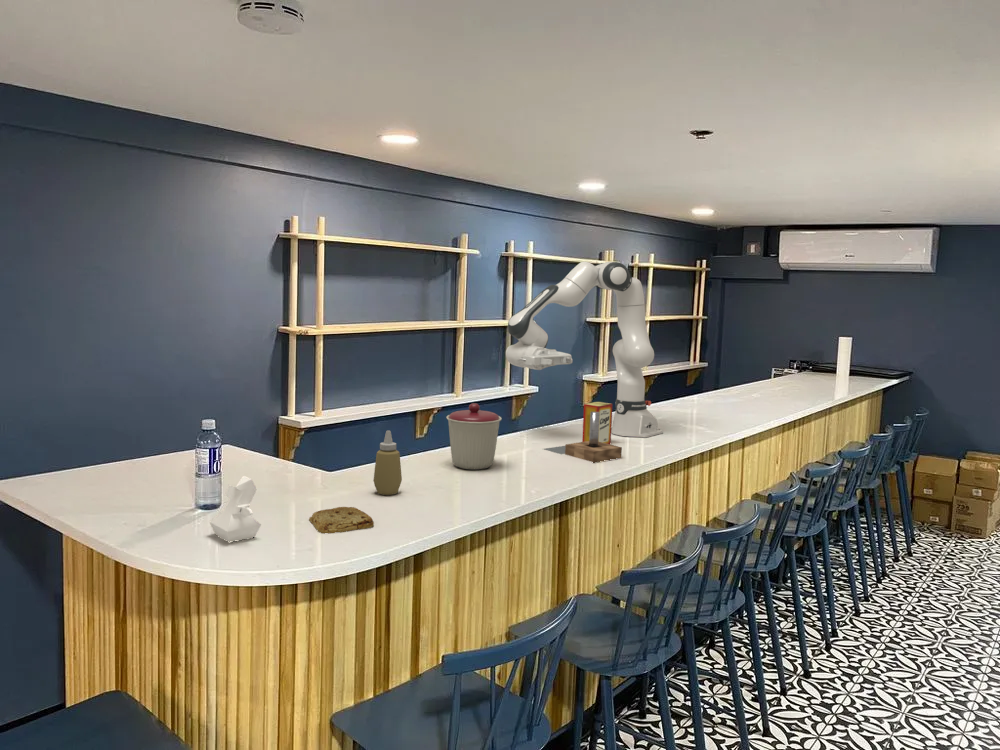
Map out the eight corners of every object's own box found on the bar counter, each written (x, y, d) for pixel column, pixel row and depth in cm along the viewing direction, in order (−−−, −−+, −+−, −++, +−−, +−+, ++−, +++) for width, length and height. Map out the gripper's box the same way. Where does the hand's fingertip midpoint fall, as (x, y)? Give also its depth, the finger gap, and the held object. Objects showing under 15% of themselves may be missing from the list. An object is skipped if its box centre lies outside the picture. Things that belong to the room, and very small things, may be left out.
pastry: (326, 511, 208) (326, 500, 208) (387, 519, 203) (387, 507, 203) (291, 531, 192) (291, 519, 191) (356, 539, 187) (356, 527, 186)
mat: (566, 446, 297) (566, 445, 297) (585, 451, 289) (585, 450, 289) (542, 450, 290) (542, 448, 290) (561, 455, 282) (561, 454, 282)
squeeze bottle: (389, 498, 221) (390, 434, 219) (367, 493, 225) (367, 431, 223) (407, 492, 228) (408, 430, 225) (385, 487, 232) (386, 427, 230)
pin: (593, 455, 283) (595, 411, 281) (599, 457, 281) (601, 412, 279) (586, 456, 281) (588, 412, 279) (593, 458, 279) (595, 413, 277)
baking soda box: (596, 447, 297) (598, 405, 295) (582, 444, 302) (583, 403, 300) (610, 444, 304) (612, 402, 302) (596, 441, 309) (598, 400, 307)
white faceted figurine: (232, 548, 177) (231, 488, 175) (205, 533, 187) (204, 476, 185) (267, 540, 183) (266, 482, 181) (239, 526, 193) (238, 471, 191)
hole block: (592, 451, 291) (593, 440, 290) (621, 458, 280) (621, 447, 279) (565, 455, 282) (565, 444, 281) (593, 463, 271) (593, 451, 270)
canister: (433, 465, 261) (435, 402, 258) (472, 457, 274) (474, 397, 271) (472, 476, 249) (474, 409, 246) (511, 467, 262) (513, 404, 259)
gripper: (516, 350, 298) (541, 354, 287) (556, 349, 310) (581, 352, 300) (516, 367, 298) (540, 371, 288) (556, 365, 311) (580, 368, 300)
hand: (561, 361), depth 294 cm, fingers open, 8 cm apart
